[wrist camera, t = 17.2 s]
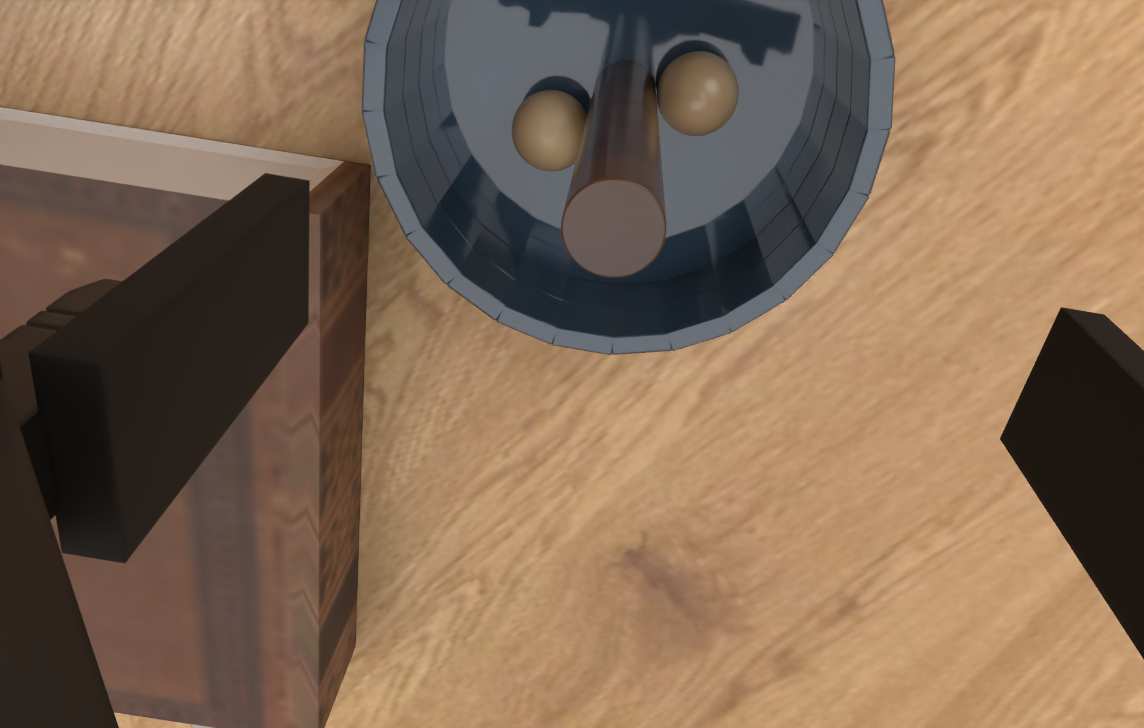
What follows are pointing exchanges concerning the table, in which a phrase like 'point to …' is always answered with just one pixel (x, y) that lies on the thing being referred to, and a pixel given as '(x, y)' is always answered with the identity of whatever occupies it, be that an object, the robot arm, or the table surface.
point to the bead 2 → (697, 93)
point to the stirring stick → (617, 178)
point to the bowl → (689, 163)
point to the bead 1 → (549, 130)
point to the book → (243, 454)
